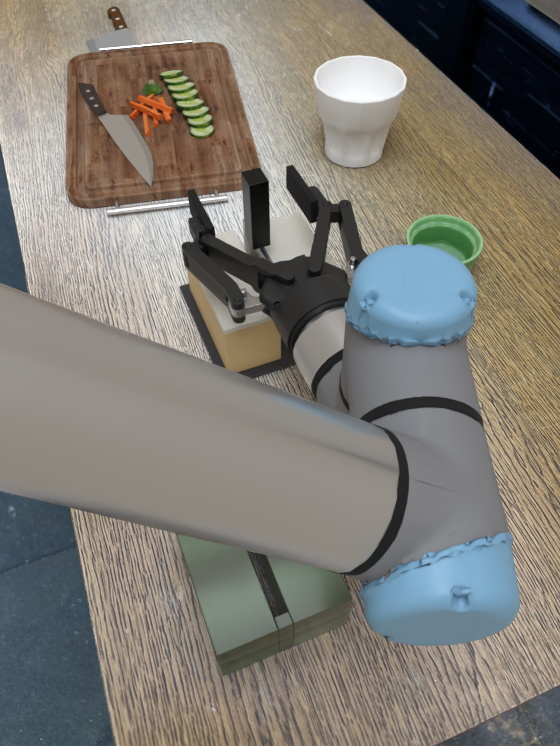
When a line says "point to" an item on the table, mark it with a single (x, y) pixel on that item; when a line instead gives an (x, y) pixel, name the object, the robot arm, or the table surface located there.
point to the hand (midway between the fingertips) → (241, 188)
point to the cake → (258, 332)
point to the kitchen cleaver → (113, 33)
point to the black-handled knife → (256, 213)
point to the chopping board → (154, 126)
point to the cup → (357, 106)
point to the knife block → (260, 602)
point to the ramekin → (447, 237)
